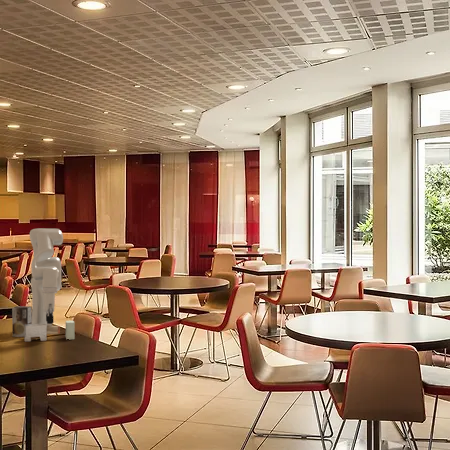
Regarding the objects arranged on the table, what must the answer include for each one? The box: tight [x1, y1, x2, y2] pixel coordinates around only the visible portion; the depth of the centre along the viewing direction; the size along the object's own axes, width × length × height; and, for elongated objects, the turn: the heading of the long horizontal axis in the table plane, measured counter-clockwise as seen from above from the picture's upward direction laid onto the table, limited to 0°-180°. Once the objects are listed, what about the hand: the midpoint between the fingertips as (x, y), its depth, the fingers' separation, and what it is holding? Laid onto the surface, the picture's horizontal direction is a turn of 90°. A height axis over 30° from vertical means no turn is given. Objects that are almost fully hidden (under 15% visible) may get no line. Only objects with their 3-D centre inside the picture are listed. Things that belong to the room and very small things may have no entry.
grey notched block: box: [24, 324, 48, 342], centre depth 354 cm, size 8×11×8 cm
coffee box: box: [11, 305, 32, 338], centre depth 367 cm, size 9×6×16 cm
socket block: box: [65, 320, 76, 340], centre depth 360 cm, size 8×4×9 cm, turn 18°
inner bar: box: [47, 315, 61, 335], centre depth 355 cm, size 4×17×10 cm, turn 108°
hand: (49, 322), depth 356 cm, fingers open, 9 cm apart
